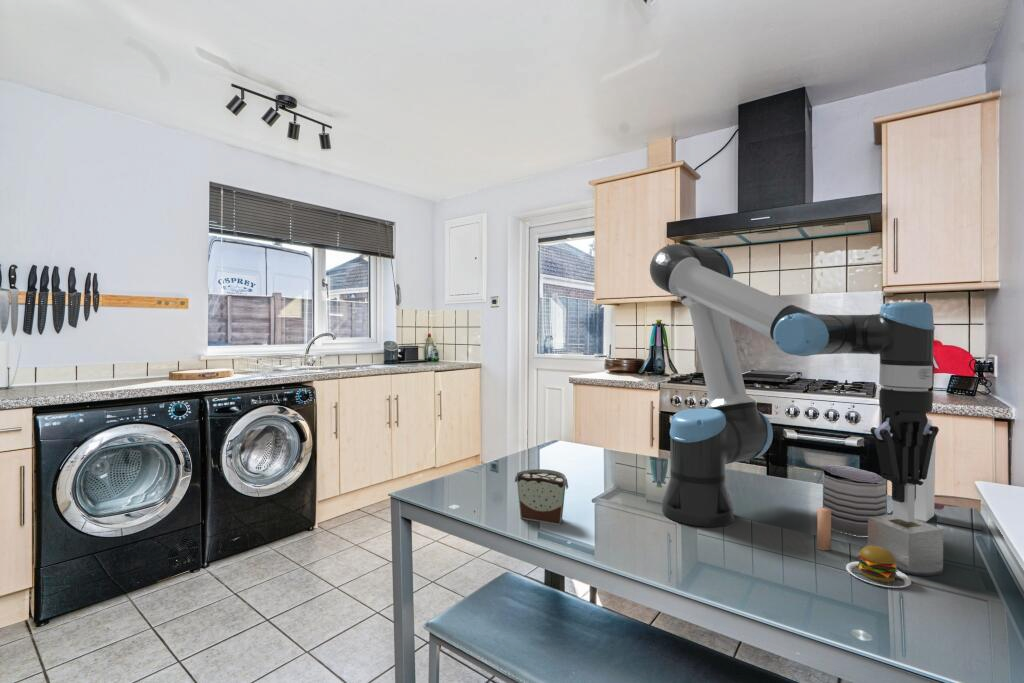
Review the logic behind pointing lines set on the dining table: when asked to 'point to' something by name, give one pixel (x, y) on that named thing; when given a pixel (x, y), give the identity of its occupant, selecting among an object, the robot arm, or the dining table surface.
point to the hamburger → (877, 566)
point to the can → (853, 498)
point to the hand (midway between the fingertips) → (903, 518)
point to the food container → (541, 495)
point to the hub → (921, 569)
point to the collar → (907, 540)
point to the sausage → (824, 529)
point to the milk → (926, 491)
